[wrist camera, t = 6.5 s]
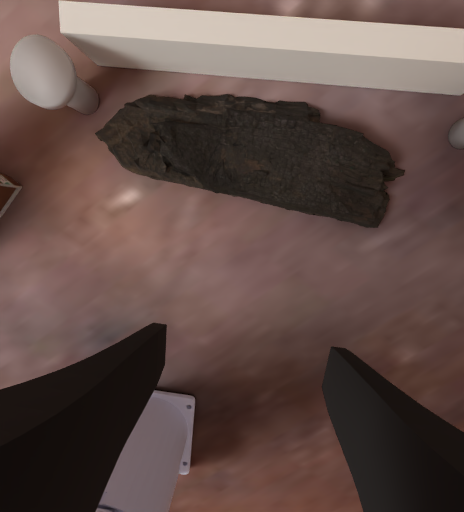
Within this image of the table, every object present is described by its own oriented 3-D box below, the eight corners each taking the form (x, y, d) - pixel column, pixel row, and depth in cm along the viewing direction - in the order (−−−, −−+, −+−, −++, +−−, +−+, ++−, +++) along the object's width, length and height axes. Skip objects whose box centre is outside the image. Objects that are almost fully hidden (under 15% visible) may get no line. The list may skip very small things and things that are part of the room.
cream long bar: (482, 163, 17) (552, 152, 13) (64, 123, 18) (13, 103, 14) (512, 73, 15) (599, 30, 12) (59, 38, 17) (2, -11, 13)
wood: (416, 130, 17) (451, 114, 14) (379, 231, 19) (403, 236, 16) (117, 64, 18) (90, 36, 15) (107, 168, 19) (80, 162, 16)
